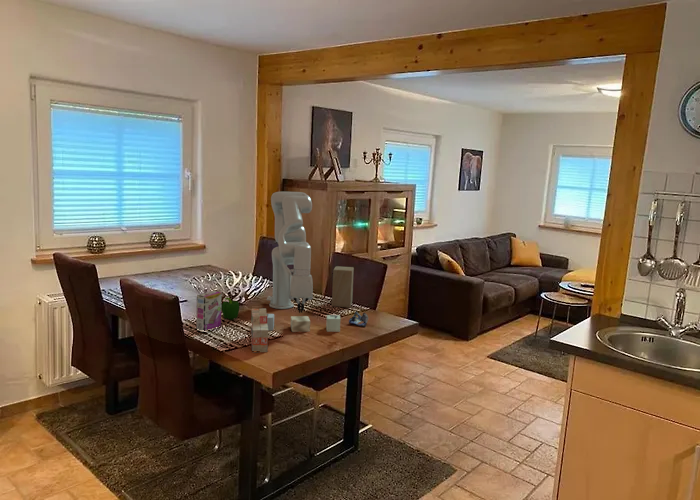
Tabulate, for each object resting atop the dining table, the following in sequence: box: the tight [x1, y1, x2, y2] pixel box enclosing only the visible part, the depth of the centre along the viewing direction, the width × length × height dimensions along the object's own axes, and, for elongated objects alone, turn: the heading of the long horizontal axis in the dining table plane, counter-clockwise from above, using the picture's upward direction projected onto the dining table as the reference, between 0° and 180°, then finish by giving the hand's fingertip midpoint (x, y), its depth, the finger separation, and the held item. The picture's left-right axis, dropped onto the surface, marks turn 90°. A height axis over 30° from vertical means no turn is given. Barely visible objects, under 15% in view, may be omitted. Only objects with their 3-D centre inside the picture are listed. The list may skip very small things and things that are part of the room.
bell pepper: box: [221, 297, 240, 320], centre depth 257 cm, size 8×8×10 cm
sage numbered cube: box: [325, 314, 341, 333], centre depth 247 cm, size 6×6×6 cm
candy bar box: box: [195, 290, 223, 331], centre depth 238 cm, size 11×5×16 cm, turn 152°
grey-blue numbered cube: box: [267, 313, 275, 331], centre depth 244 cm, size 6×6×6 cm
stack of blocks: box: [250, 308, 269, 353], centre depth 223 cm, size 21×6×12 cm, turn 11°
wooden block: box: [331, 265, 355, 308], centre depth 289 cm, size 10×10×20 cm
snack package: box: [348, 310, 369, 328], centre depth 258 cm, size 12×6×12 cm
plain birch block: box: [290, 315, 311, 333], centre depth 245 cm, size 8×8×5 cm
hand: (300, 311), depth 245 cm, fingers closed
